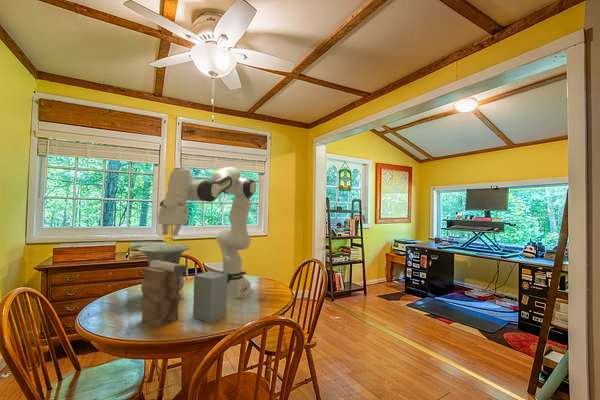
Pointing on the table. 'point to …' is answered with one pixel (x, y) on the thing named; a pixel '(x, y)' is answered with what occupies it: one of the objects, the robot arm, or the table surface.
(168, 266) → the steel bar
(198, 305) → the slate block
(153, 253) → the vessel
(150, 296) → the walnut pillar
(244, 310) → the table surface
